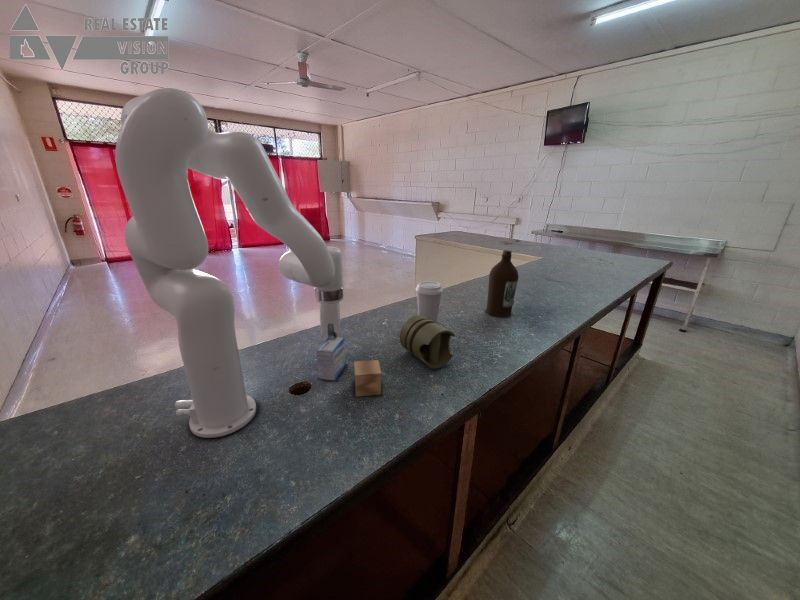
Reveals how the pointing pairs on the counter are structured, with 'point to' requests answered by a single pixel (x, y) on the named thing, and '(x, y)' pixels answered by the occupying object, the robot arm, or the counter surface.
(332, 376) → the medicine box
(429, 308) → the coffee cup
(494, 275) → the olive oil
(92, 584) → the counter surface
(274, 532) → the counter surface
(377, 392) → the maple block
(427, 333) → the piston
